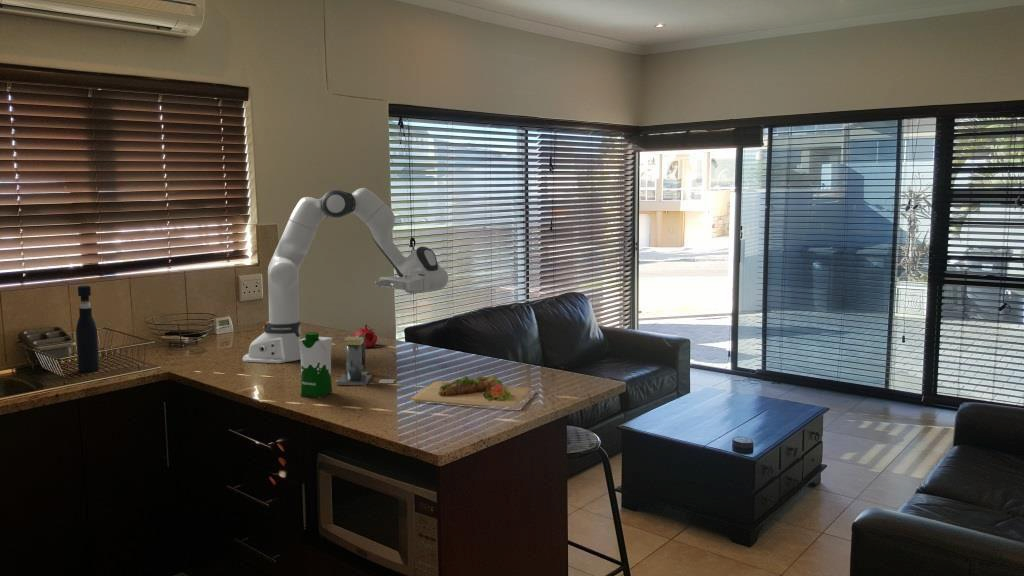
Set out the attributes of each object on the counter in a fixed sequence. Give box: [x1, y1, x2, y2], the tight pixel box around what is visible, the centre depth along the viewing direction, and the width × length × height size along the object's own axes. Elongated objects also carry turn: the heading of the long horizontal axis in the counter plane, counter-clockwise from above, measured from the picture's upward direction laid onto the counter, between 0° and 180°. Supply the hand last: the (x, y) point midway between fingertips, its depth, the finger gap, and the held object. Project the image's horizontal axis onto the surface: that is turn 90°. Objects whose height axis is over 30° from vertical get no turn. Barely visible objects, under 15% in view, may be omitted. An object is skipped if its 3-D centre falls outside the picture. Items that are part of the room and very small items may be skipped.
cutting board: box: [410, 375, 530, 407], centre depth 237 cm, size 35×23×8 cm
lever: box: [343, 335, 367, 371], centre depth 258 cm, size 16×6×13 cm, turn 0°
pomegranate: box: [353, 324, 378, 349], centre depth 313 cm, size 10×10×9 cm
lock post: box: [336, 345, 396, 386], centre depth 257 cm, size 18×18×13 cm
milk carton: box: [299, 331, 333, 398], centre depth 236 cm, size 9×9×20 cm
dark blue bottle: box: [75, 285, 100, 373], centre depth 263 cm, size 6×6×30 cm
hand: (383, 285), depth 278 cm, fingers open, 8 cm apart
